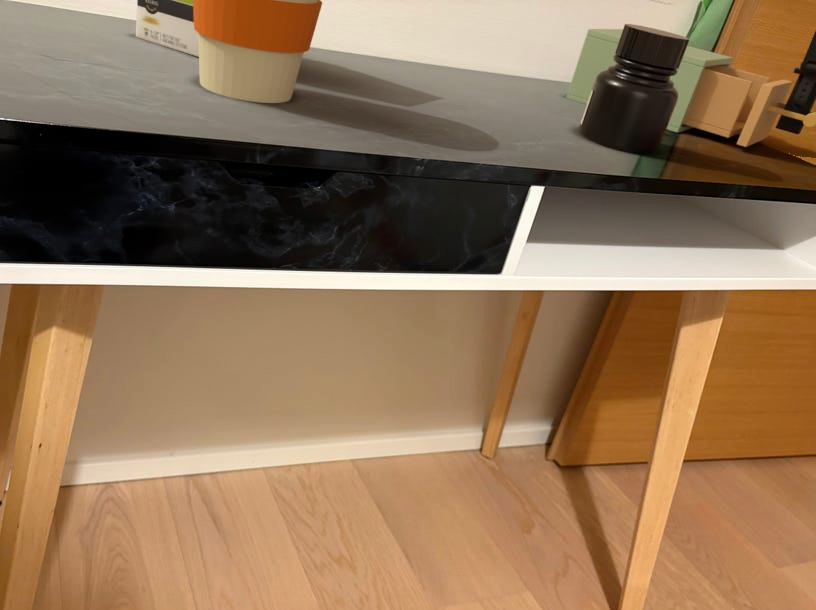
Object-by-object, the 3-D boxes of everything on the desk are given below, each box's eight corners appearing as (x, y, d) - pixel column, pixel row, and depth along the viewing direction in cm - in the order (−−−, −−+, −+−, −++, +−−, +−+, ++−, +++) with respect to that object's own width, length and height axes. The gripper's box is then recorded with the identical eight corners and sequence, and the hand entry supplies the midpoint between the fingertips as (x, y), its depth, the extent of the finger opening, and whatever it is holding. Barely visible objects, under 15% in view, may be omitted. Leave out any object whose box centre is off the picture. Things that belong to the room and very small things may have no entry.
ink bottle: (625, 135, 95) (665, 28, 89) (675, 160, 88) (721, 46, 82) (558, 128, 92) (595, 16, 86) (605, 153, 85) (647, 34, 79)
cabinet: (705, 125, 112) (733, 57, 107) (676, 134, 102) (706, 60, 97) (601, 93, 119) (624, 29, 114) (565, 99, 109) (588, 28, 104)
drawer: (813, 151, 104) (840, 94, 101) (795, 162, 95) (825, 100, 92) (663, 106, 114) (683, 52, 110) (634, 112, 105) (655, 54, 101)
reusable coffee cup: (312, 90, 85) (338, -68, 77) (304, 119, 74) (334, -61, 66) (193, 67, 84) (208, -95, 76) (168, 93, 73) (182, -93, 66)
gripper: (856, -82, 95) (767, 117, 107) (840, -95, 85) (745, 126, 97) (927, -70, 92) (827, 134, 103) (919, -82, 82) (810, 145, 94)
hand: (787, 130), depth 100 cm, fingers closed
